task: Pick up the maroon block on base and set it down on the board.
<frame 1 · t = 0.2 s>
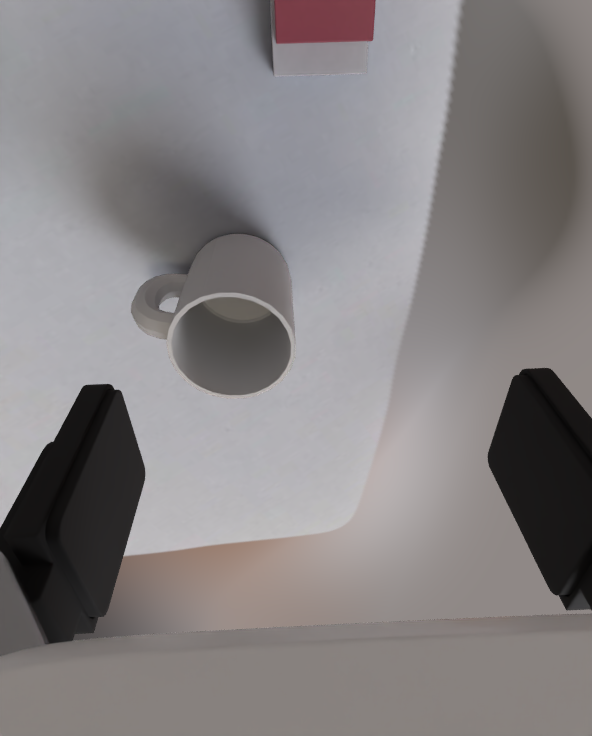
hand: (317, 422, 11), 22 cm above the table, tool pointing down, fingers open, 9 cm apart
cup: (221, 276, 33), on the table
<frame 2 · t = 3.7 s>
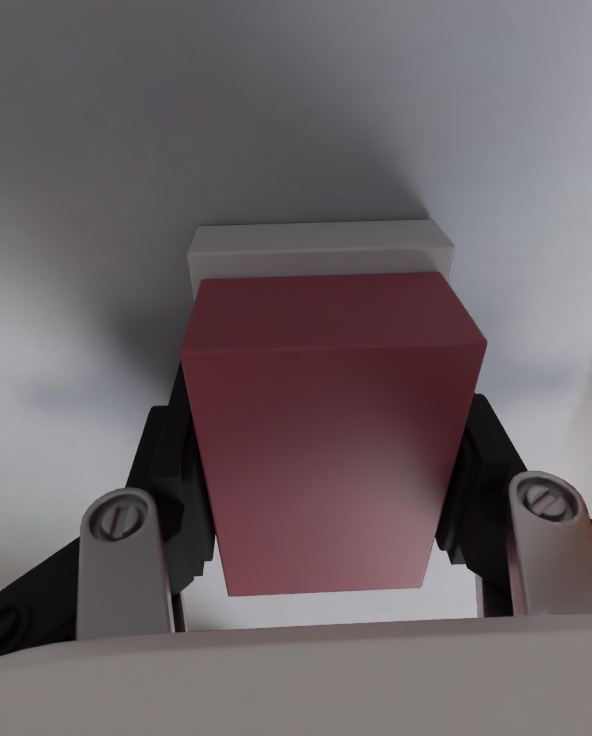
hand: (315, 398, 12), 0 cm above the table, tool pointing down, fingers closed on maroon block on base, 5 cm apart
maroon block on base: (314, 388, 12), on the table, touching gripper
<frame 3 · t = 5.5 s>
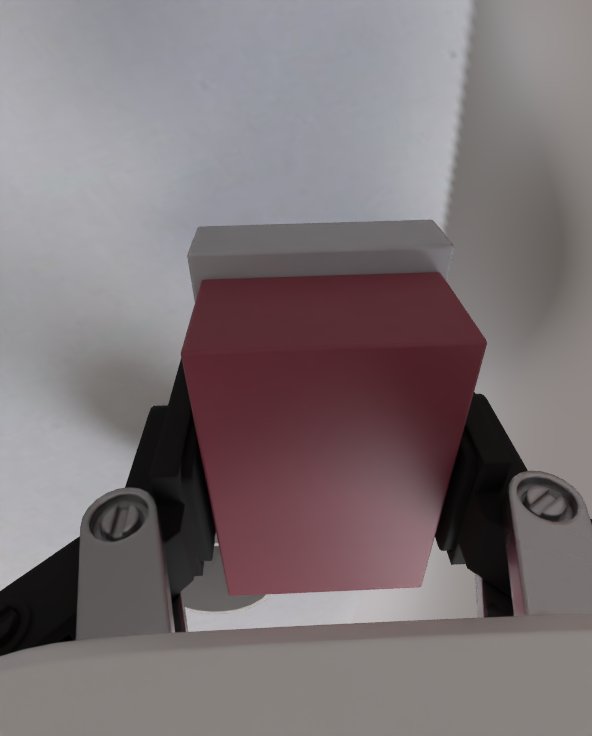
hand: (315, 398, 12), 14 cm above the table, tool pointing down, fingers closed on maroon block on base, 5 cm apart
maroon block on base: (314, 388, 12), point 14 cm above the table, touching gripper
cup: (207, 460, 34), on the table
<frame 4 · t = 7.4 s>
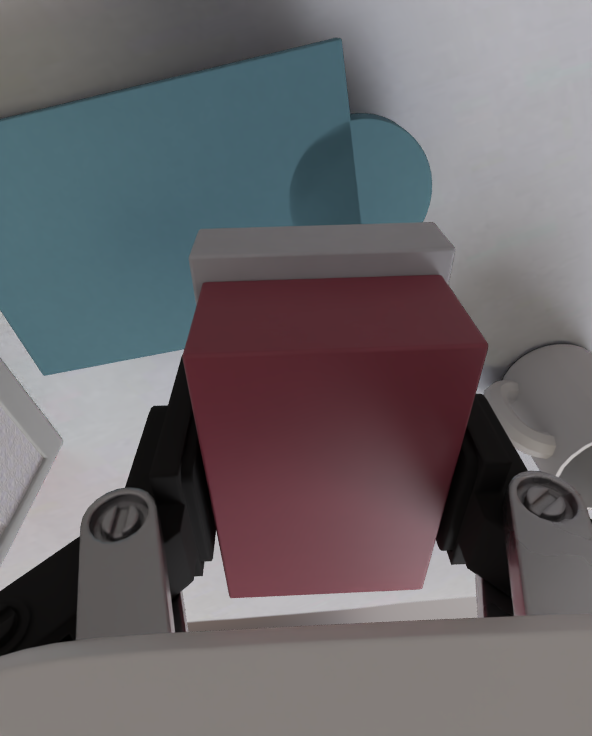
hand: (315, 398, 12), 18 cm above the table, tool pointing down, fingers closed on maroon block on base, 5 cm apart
board: (176, 214, 27), on the table
maroon block on base: (315, 390, 12), point 17 cm above the table, touching gripper
cup: (526, 377, 35), on the table
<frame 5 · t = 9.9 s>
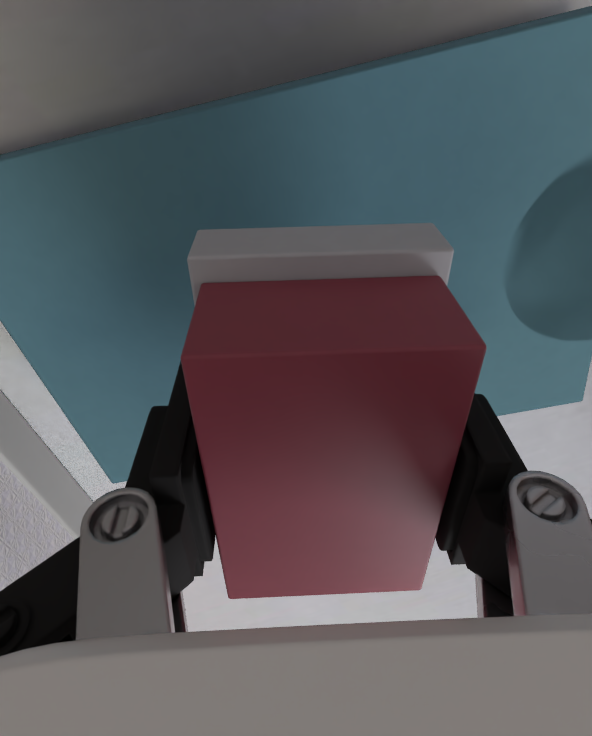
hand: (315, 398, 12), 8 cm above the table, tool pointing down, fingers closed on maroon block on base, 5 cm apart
board: (300, 264, 19), on the table
maroon block on base: (314, 390, 12), point 8 cm above the table, touching gripper
when the fingers open (4 cm above the table, at t = 11.3 s): maroon block on base stays where it is, resting on board.
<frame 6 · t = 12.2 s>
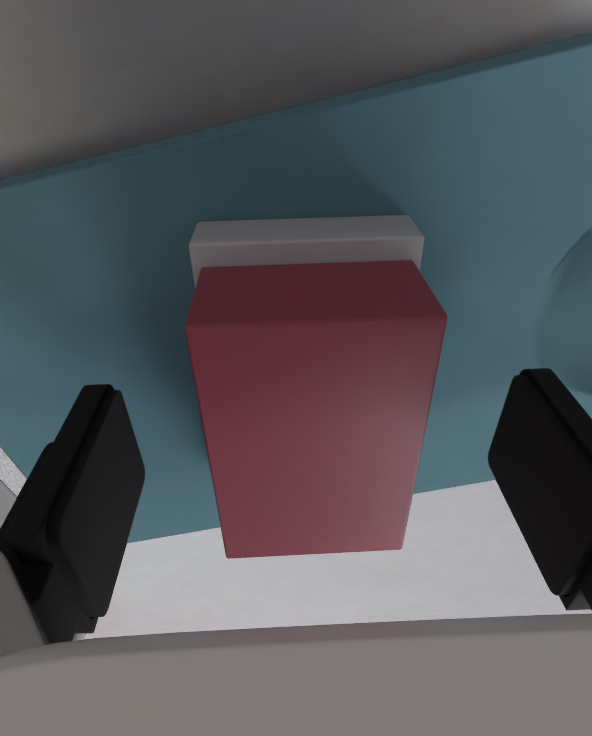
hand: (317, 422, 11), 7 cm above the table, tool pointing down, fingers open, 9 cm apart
board: (296, 305, 17), on the table
maroon block on base: (304, 371, 14), point 4 cm above the table, touching board
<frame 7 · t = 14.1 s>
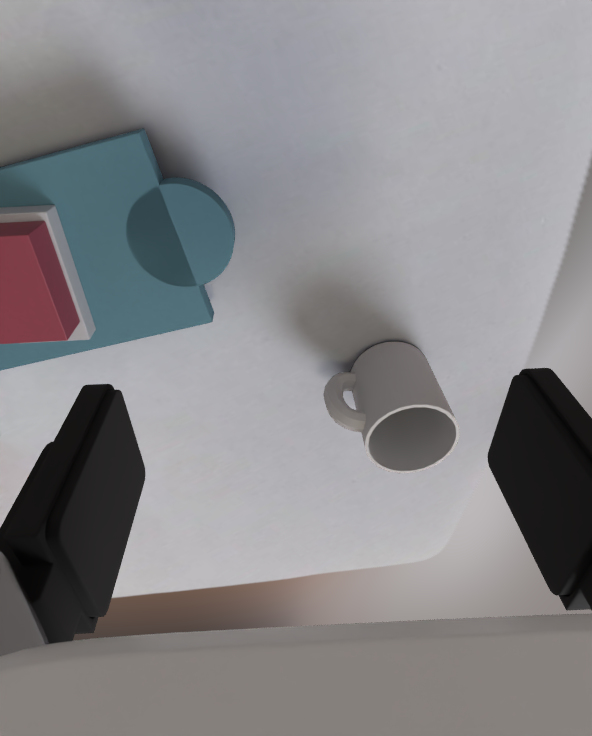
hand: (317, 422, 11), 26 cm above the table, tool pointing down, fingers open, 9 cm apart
board: (61, 251, 35), on the table
maroon block on base: (40, 273, 31), point 4 cm above the table, touching board
cup: (372, 369, 43), on the table
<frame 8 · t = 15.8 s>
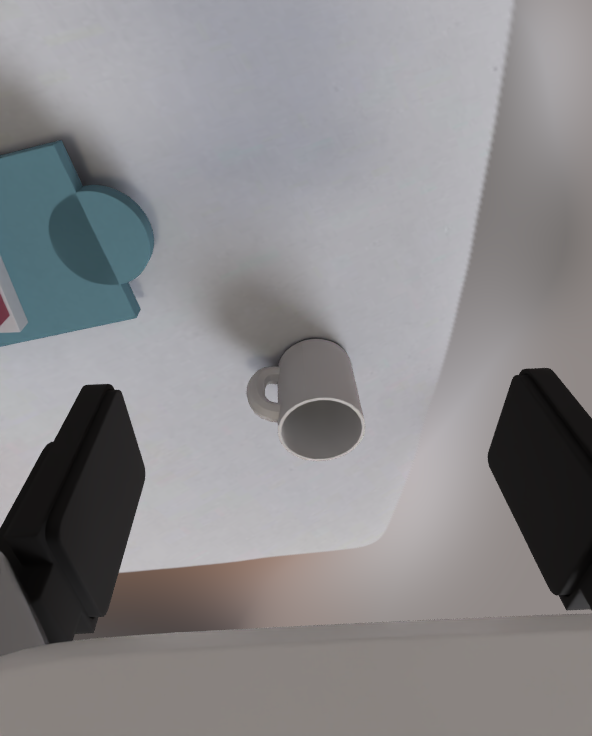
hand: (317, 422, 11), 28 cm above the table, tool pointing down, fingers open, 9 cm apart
cup: (300, 364, 46), on the table
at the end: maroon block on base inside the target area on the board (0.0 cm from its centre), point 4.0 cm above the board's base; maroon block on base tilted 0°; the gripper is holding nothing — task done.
